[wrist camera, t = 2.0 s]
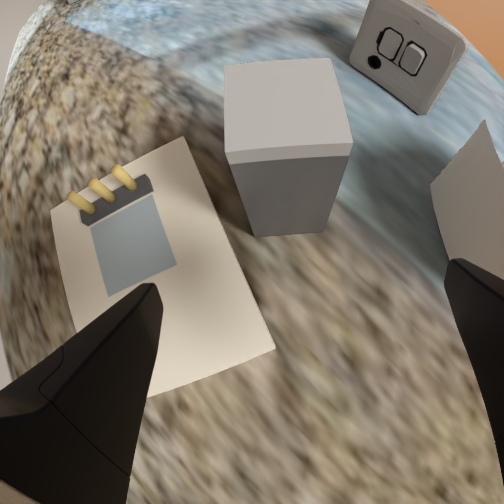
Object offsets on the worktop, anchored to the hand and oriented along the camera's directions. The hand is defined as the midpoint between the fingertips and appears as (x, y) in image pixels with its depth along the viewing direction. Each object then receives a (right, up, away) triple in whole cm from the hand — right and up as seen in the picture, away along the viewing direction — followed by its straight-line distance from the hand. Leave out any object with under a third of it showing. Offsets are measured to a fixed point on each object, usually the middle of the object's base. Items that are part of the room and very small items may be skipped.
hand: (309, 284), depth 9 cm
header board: (-10, -1, +15) cm, 18 cm away
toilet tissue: (+18, +1, +12) cm, 22 cm away
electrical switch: (+13, +18, +17) cm, 28 cm away
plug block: (+1, +5, +15) cm, 16 cm away
